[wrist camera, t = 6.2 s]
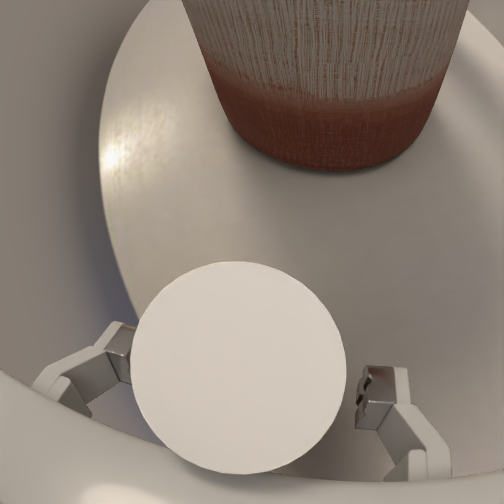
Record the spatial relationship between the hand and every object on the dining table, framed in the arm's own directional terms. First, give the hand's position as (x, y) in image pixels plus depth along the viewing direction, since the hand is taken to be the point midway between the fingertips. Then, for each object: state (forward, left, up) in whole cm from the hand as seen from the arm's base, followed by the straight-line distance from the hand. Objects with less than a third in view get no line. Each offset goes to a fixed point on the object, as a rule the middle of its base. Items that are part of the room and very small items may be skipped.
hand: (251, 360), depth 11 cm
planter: (+21, -1, -9) cm, 23 cm away
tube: (0, -1, -10) cm, 10 cm away
